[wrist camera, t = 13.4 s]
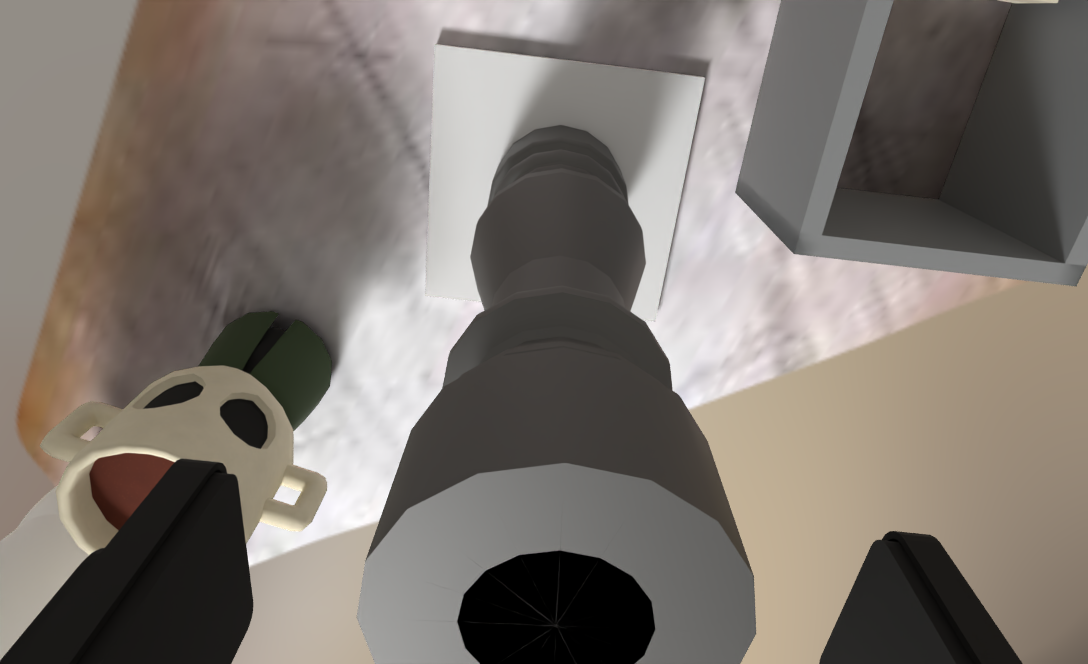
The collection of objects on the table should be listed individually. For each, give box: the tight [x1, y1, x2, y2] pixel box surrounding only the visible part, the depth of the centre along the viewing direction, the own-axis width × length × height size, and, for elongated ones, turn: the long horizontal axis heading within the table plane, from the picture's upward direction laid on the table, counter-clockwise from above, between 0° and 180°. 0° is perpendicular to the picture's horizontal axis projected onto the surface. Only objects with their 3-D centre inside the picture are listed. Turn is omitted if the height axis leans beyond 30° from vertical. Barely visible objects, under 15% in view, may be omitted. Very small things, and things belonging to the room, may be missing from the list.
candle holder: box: [357, 125, 756, 664], centre depth 21 cm, size 6×6×25 cm
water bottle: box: [0, 486, 89, 660], centre depth 29 cm, size 7×7×25 cm
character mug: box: [40, 311, 332, 555], centre depth 31 cm, size 11×7×13 cm, turn 68°
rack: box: [735, 0, 1088, 286], centre depth 25 cm, size 16×11×9 cm, turn 174°
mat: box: [425, 44, 705, 322], centre depth 32 cm, size 12×12×1 cm
